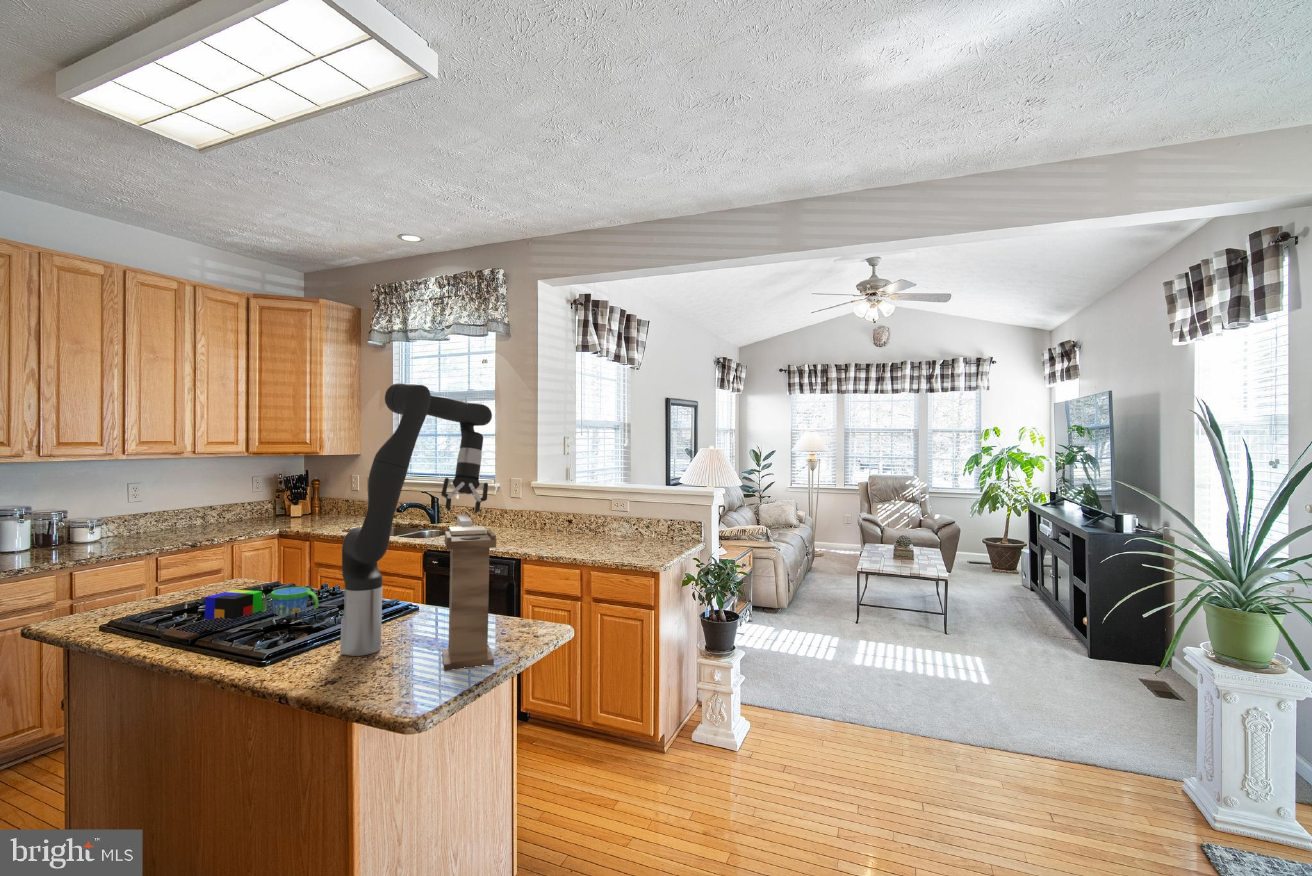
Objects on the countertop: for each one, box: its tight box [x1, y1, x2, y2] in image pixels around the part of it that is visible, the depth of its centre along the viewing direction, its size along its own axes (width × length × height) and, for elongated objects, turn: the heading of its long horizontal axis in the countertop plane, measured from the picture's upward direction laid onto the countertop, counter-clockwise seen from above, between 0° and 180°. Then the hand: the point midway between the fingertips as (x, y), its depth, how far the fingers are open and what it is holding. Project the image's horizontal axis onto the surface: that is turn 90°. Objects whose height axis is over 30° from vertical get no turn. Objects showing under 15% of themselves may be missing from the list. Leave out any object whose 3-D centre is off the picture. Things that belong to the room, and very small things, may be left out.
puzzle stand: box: [441, 529, 497, 672], centre depth 156 cm, size 12×12×33 cm
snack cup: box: [261, 586, 319, 615], centre depth 186 cm, size 16×10×10 cm
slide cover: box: [448, 514, 487, 535], centre depth 172 cm, size 26×9×2 cm, turn 22°
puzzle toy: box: [204, 589, 263, 620], centre depth 181 cm, size 10×10×10 cm
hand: (462, 512), depth 193 cm, fingers open, 8 cm apart
